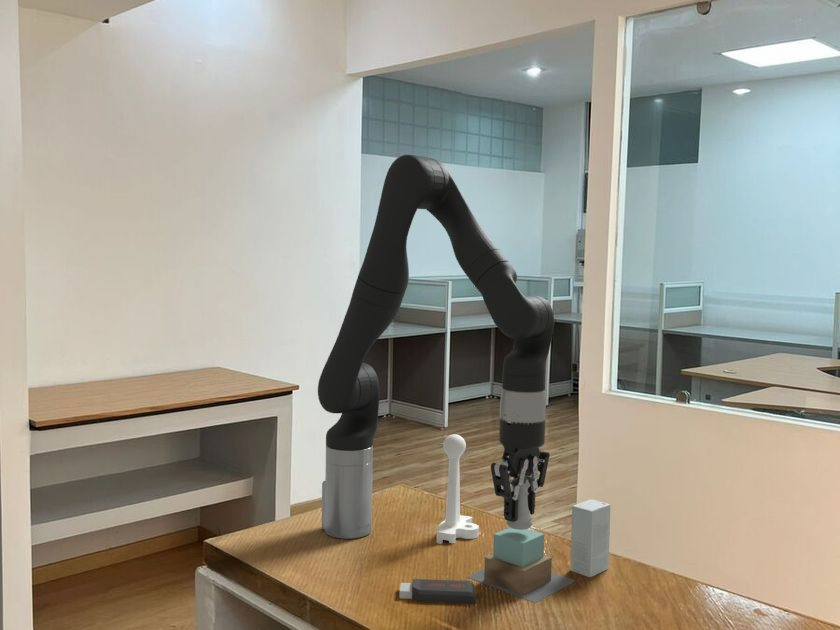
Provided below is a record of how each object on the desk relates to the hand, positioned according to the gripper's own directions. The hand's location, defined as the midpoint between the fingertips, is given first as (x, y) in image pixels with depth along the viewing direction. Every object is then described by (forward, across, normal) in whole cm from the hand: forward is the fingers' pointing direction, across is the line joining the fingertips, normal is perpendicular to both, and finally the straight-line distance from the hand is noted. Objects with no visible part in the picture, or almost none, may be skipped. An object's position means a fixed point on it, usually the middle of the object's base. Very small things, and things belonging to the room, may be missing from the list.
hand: (519, 516), depth 130 cm
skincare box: (+12, -13, +6) cm, 18 cm away
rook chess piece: (+2, 0, 0) cm, 2 cm away
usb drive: (+12, +14, -6) cm, 19 cm away
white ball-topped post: (+12, -10, -21) cm, 26 cm away
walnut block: (+11, 0, 0) cm, 11 cm away
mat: (+11, -1, 0) cm, 11 cm away
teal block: (+7, 0, 0) cm, 7 cm away
